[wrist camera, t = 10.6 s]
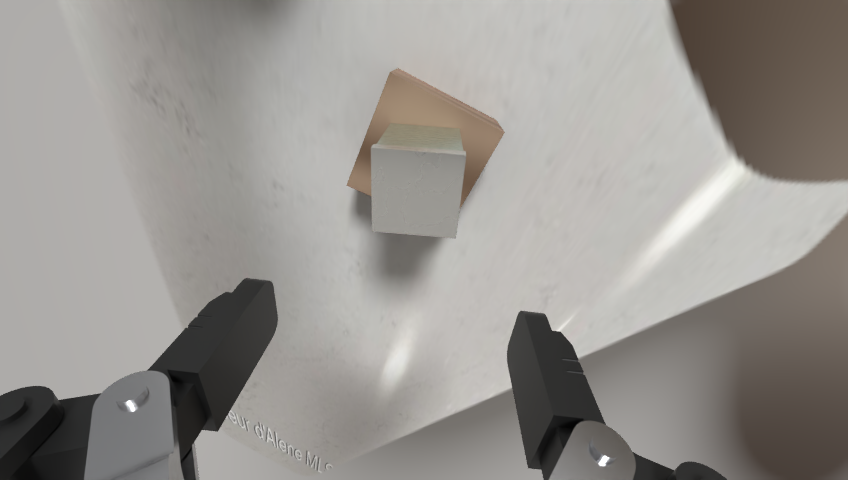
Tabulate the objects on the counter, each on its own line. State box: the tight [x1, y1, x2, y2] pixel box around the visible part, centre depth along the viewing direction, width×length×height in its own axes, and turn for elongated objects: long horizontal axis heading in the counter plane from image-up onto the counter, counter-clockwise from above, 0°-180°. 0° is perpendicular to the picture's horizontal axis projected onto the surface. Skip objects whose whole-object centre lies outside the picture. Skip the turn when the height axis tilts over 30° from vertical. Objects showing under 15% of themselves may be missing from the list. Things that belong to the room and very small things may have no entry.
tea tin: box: [371, 123, 466, 238], centre depth 23 cm, size 5×5×7 cm
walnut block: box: [347, 69, 505, 208], centre depth 28 cm, size 9×9×5 cm
